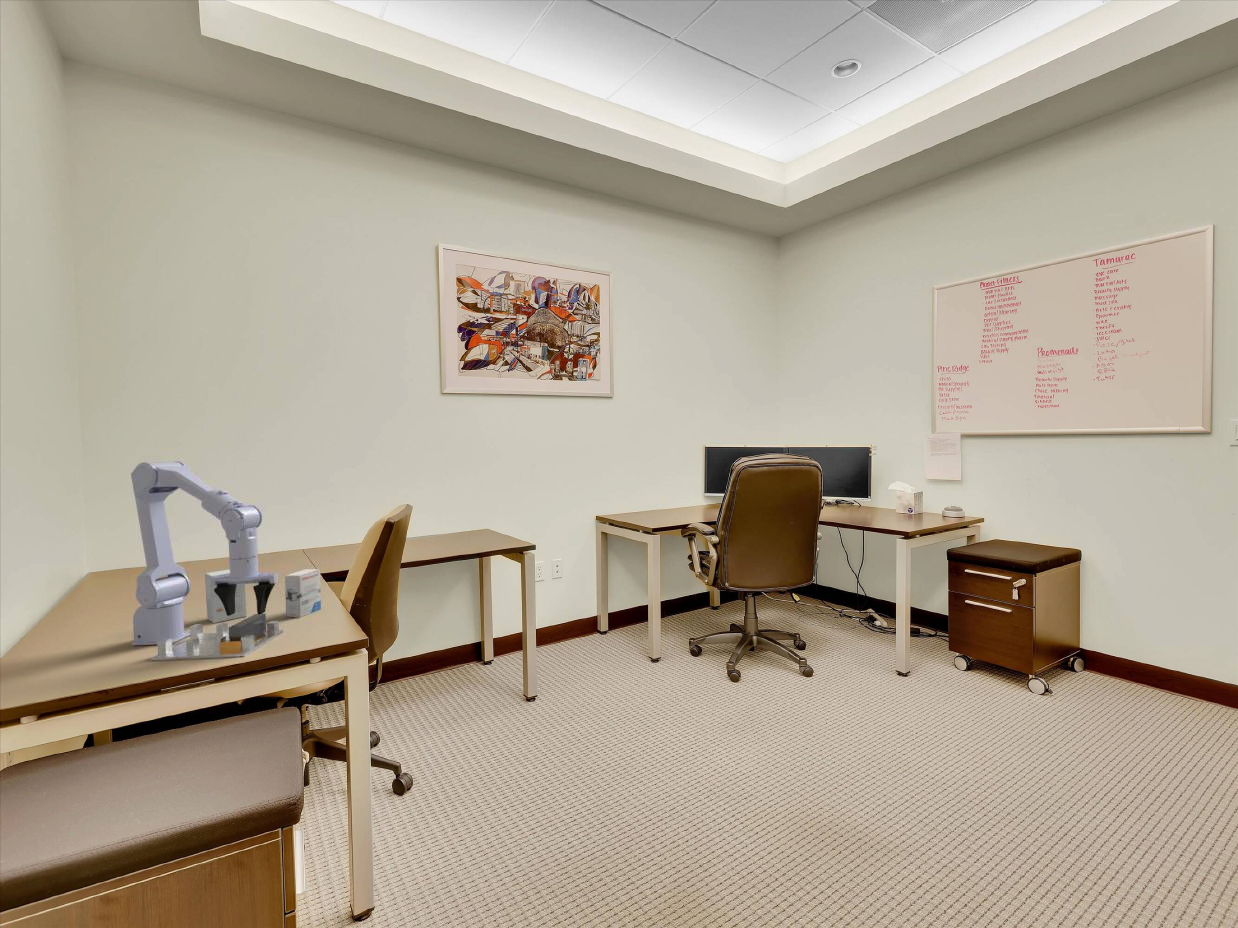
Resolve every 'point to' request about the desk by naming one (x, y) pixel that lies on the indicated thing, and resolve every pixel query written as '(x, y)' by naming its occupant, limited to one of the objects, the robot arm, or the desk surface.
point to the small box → (215, 604)
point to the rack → (214, 644)
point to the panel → (249, 628)
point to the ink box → (302, 592)
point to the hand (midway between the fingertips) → (246, 613)
